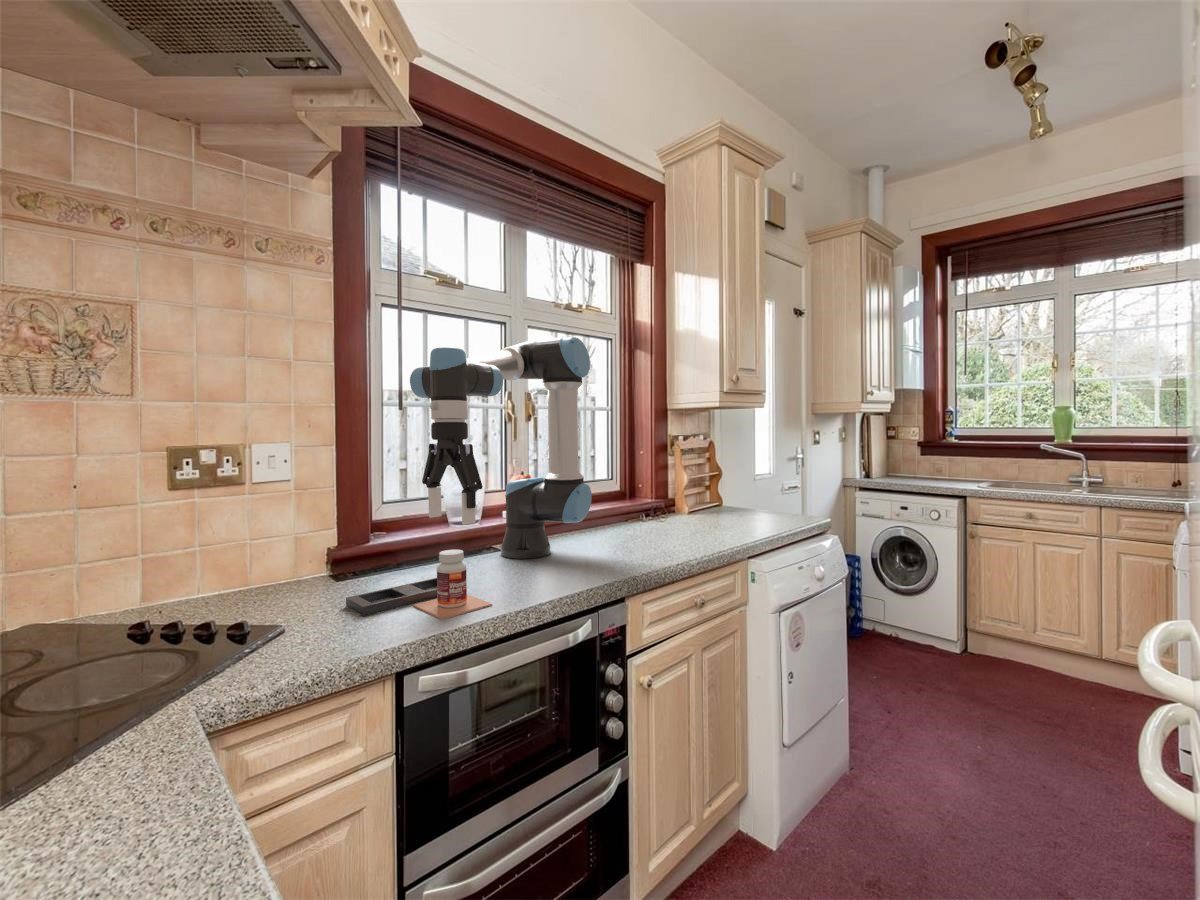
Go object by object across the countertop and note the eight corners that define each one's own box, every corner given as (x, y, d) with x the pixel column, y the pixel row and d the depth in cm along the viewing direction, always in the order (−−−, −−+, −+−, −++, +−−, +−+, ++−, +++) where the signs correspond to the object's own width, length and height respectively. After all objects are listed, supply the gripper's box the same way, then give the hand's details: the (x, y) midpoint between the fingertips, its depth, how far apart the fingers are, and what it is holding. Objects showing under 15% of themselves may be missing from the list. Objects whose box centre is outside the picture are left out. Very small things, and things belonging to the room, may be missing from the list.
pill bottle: (452, 610, 113) (451, 556, 112) (431, 605, 116) (430, 553, 115) (472, 602, 118) (472, 550, 118) (452, 597, 121) (451, 547, 121)
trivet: (461, 594, 125) (461, 592, 125) (492, 605, 117) (492, 603, 117) (413, 606, 117) (413, 604, 117) (441, 619, 108) (441, 617, 108)
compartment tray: (446, 583, 134) (445, 575, 134) (465, 590, 128) (465, 582, 128) (346, 606, 117) (345, 597, 117) (363, 616, 111) (363, 606, 110)
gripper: (405, 422, 121) (407, 516, 122) (466, 420, 104) (468, 529, 105) (435, 422, 127) (437, 512, 128) (498, 420, 110) (500, 524, 110)
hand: (451, 520), depth 116 cm, fingers open, 13 cm apart
